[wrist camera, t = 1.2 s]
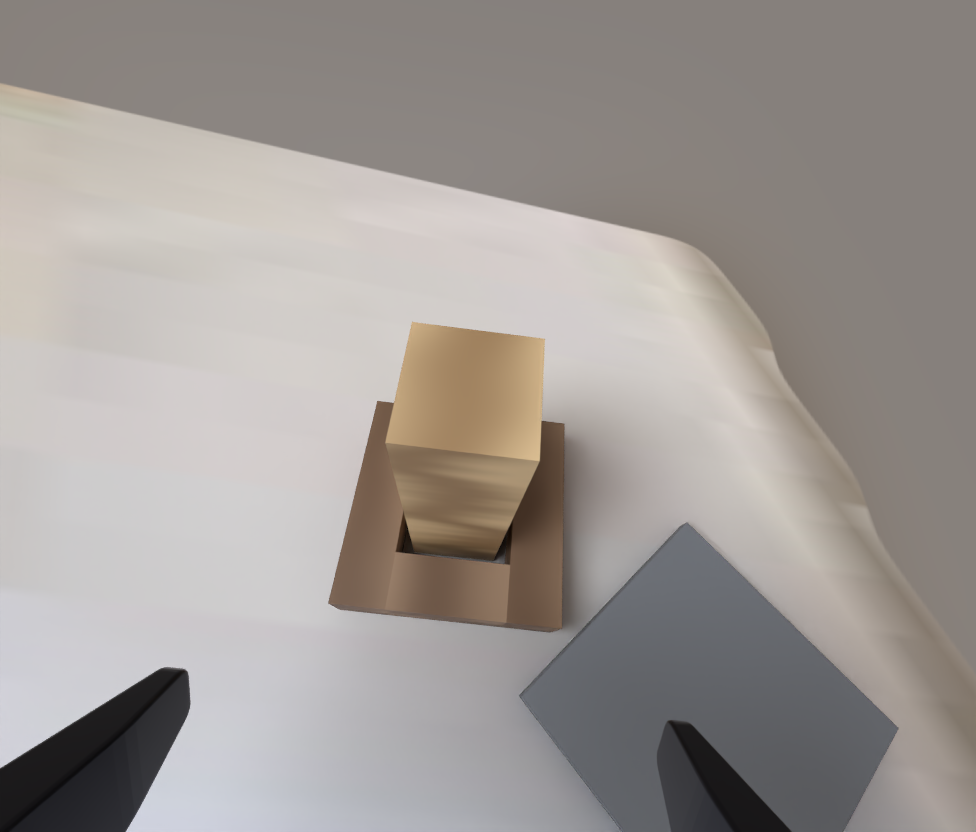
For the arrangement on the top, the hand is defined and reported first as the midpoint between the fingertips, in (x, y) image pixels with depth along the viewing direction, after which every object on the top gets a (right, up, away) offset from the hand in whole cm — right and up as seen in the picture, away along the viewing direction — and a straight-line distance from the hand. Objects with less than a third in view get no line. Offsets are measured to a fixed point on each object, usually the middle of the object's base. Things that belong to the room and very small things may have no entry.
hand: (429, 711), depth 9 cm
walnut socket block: (0, 0, +16) cm, 16 cm away
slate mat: (+11, -8, +12) cm, 18 cm away
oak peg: (0, 0, +16) cm, 16 cm away
